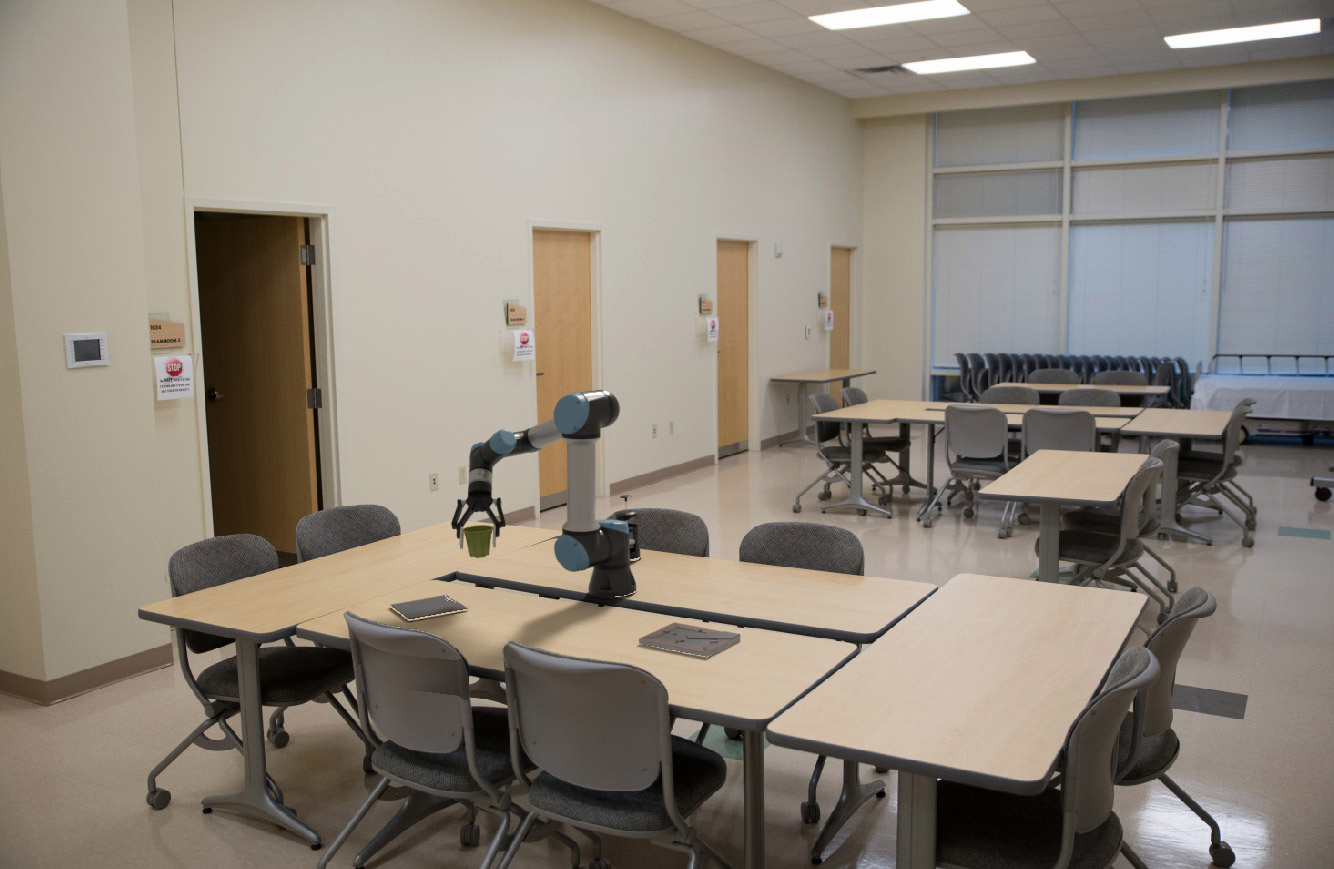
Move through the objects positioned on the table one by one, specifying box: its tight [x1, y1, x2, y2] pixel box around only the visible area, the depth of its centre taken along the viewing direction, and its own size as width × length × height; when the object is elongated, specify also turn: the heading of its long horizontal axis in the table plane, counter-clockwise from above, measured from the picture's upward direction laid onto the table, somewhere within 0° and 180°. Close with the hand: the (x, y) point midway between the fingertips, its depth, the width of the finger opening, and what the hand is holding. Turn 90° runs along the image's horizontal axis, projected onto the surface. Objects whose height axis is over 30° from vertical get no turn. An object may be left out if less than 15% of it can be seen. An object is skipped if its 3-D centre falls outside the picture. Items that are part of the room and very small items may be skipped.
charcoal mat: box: [390, 594, 468, 619], centre depth 318 cm, size 18×18×1 cm
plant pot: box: [463, 524, 493, 559], centre depth 325 cm, size 9×9×9 cm
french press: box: [613, 494, 641, 559], centre depth 372 cm, size 12×9×23 cm
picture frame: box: [638, 622, 741, 657], centre depth 280 cm, size 16×2×22 cm
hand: (477, 545), depth 322 cm, fingers closed on plant pot, 9 cm apart
